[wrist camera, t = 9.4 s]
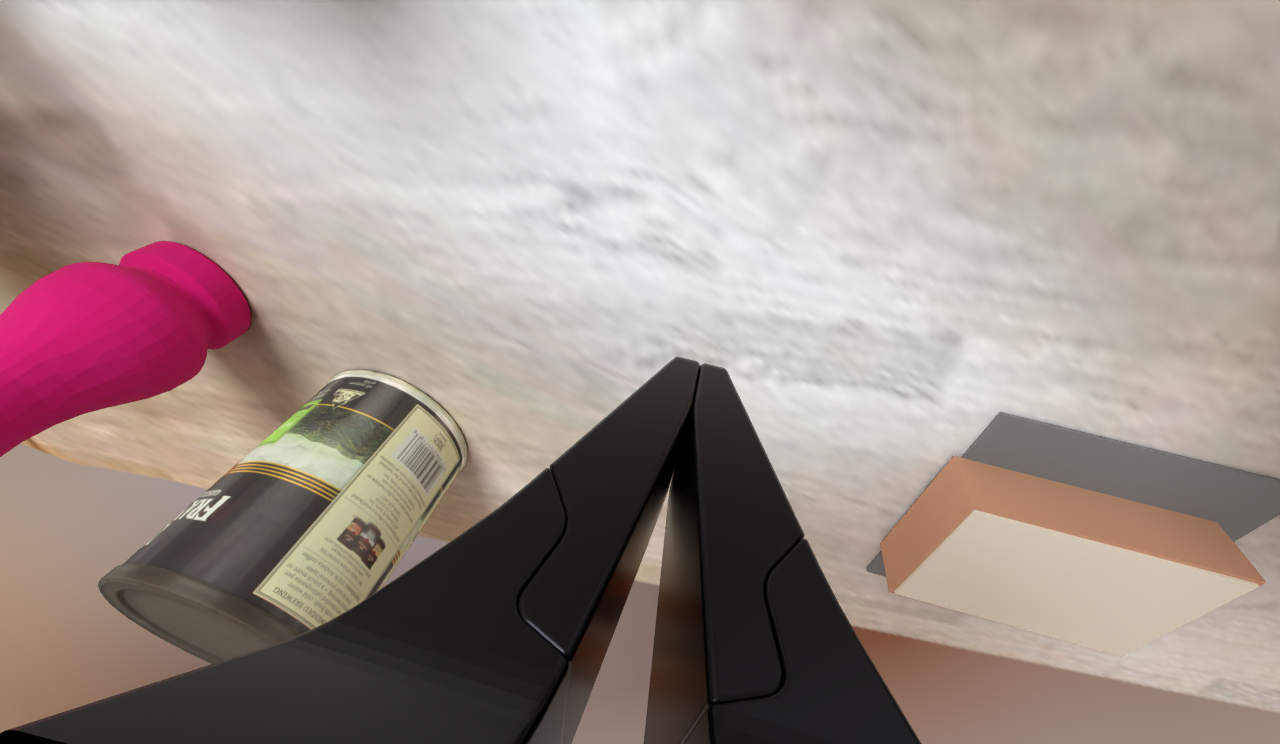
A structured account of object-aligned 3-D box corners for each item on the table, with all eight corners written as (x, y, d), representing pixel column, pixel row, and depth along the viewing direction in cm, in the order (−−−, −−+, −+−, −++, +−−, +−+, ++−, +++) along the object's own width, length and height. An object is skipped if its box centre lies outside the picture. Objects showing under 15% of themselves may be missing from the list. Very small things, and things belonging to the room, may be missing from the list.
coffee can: (306, 412, 34) (87, 607, 23) (360, 340, 29) (104, 554, 18) (426, 496, 38) (284, 701, 27) (497, 446, 32) (351, 682, 21)
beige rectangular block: (953, 455, 24) (1217, 522, 23) (880, 543, 29) (1092, 601, 28) (973, 508, 21) (1269, 585, 20) (889, 594, 26) (1122, 659, 25)
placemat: (1313, 488, 21) (1317, 492, 21) (1081, 627, 30) (1082, 630, 30) (1000, 411, 22) (1001, 415, 22) (866, 568, 31) (866, 571, 31)
